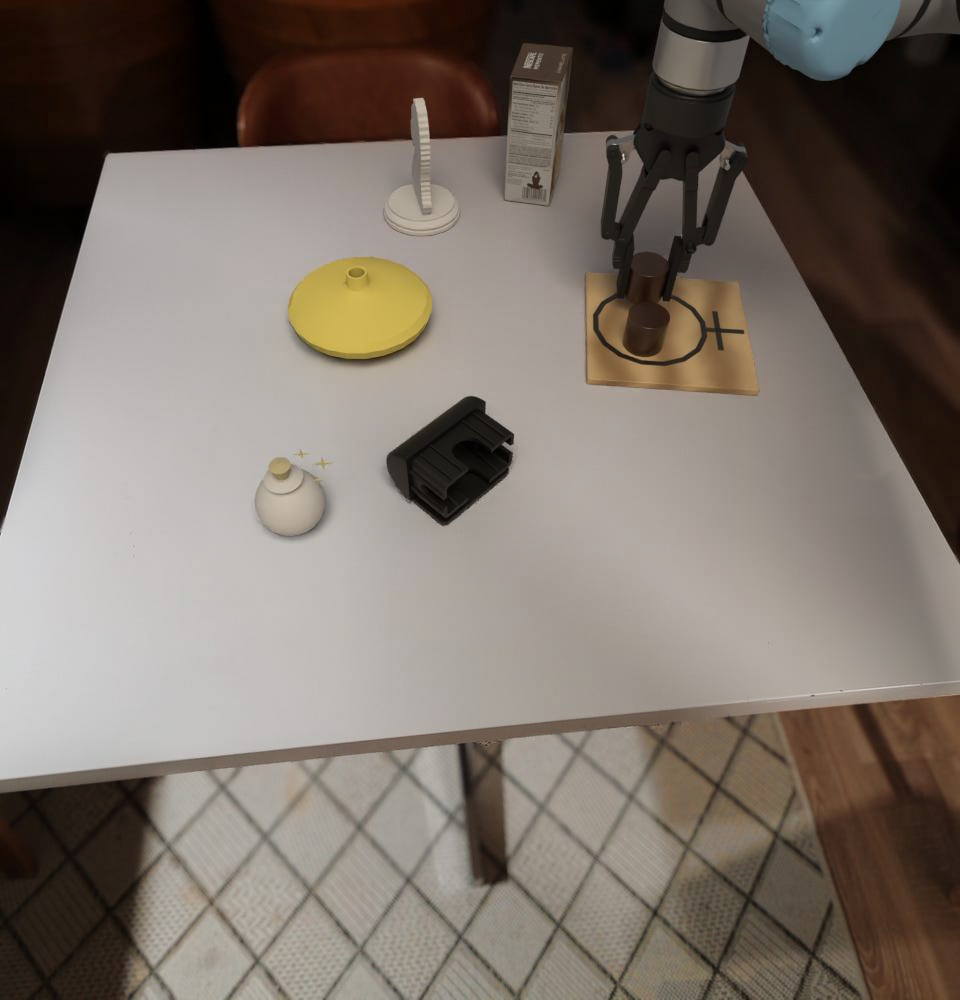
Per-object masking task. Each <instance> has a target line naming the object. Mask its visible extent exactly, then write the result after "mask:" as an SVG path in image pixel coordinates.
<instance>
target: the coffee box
mask: <svg viewBox="0 0 960 1000" xmlns="http://www.w3.org/2000/svg"><path fill="white" fill-rule="evenodd" d="M573 54H574V47H571V46H559V45H551V44H538V43H530V42H529V43H527V42H524V43H522V45H521V47H520V50H519V52H518V55H517V58H516V61H515V62H514V65H513V68H512V71H511V73H510V76H509V94H508V96H509V97H508V111H507V112H508V113H507V114H508V115H507V133H506V135H507V136H506V153H505V154H506V155H505V172H504V196H503V198H504V200H505V201H508V202H516V203H523V204H531V205H538V206H545V207H549V206H550V205H551V202H552V199H553V196H554V193H555V189H556V185H557V181H558V177H559V174H560V171H561V162H562V161H561V160H562V152H563V142H564V134H565V125H566V116H567V106H568V98H569V89H570V79H571V71H572V70H571V69H572V61H573Z"/></svg>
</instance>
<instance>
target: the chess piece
mask: <svg viewBox="0 0 960 1000" xmlns="http://www.w3.org/2000/svg"><path fill="white" fill-rule="evenodd" d="M412 102H413V103H412V104H411V106H410V107H411V108H410V110H411V112H410V113H411V114H410V115H411V119H410V120H409V122H410V136H411V139H412V140H411V141H412V146H413V147H414V149H413V150H414V151H413V155H412V161H411V181H412V183H409V184H405V185H402V186H400V187H398V188H396V189H395V190H394V191H393V192H392V193H391V194H390V195H389V196H388V197H387V198H386V200H385V202H384V206H383V218H384V220H385V222H386V224H387V225H388V226H389V227H391V228H392V229H393V230H394V231H397V232H399V233H401V234H404V235H408V236H415V237H428V236H429V237H430V236H434V235H438V234H441V233H444V232H446V231H448V230H450V229H452V227H454V226H455V225H456V224H457V223H458V221H459V219H460V216H461V208H460V204H459V201H458V199H457V198H456V197H455V196H454V195H453V194H452V193H451V191H449V190H448V189H447V188H445V187H443V186H441V185H438V184H434V183H431V160H432V159H431V140H430V139H431V138H430V125H429V118H428V117H429V116H428V110H427V106H426V101H425V99H424V97H418V98H417V97H416V98H413V99H412Z"/></svg>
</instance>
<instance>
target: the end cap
mask: <svg viewBox="0 0 960 1000" xmlns="http://www.w3.org/2000/svg"><path fill="white" fill-rule="evenodd" d="M486 408H487V402H486V400H484V399H483V398H480V397H479V396H474V395H466V396H465V397H463V398H462V399H460V400H459V401H458V402H457V403H455V404H453V405H452V406H451V407H449V408H448V409H447V410H446V411H445V410H444V412H442V413H441V414H440V415H439V416H437V417H436V418H435V419H433V420H432V421H431V422H429V423H428V424H426V425H425V426H424V427H422V428H421V429H420V430H418V431H417V432H415V433H414V434H413V435H411V436H410V437H409V438H407V439H405V440H404V441H403V442H402V443H400V445H398V446H397V447H395V448H394V449H392V450H391V451H390V452H389V453H388V454H387V455H386V458H385V459H386V460H385V463H386V468H387V472H388V475H389V476H390V478H391V480H392V482H393V483H394V485H395V487H397V489H398V490H399V491H400V493H401V494H402V495H403V496H404V497H405V498H406V499H407V500H408V501H409V502H412V503H414V504H415V505H416V506H417V507H418V508H419V509H420V510H422V511H423V512H424V513H426V514H427V515H428V516H429V517H431V519H434V521H436V522H437V523H438V524H439V525H441V526H448V525H449V524H451V523H452V522H453V521H454V520H456V519H457V518H458V517H460V516H461V515H462V514H463V513H464V512H465V511H466V510H468V509H469V508H470V507H471V506H473V505H474V504H475V503H476V502H478V501H479V500H480V499H481V498H482V497H483V496H485V495H486V494H487V493H488V492H490V491H491V490H492V489H493V488H494V487H495V486H497V485H498V484H499V483H500V482H501V481H503V480H504V479H506V478H507V476H508V475H509V473H510V469H509V468H510V467H511V464H512V463H513V454H514V453H513V452H512V451H511V450H510V449H508V448H507V447H506V446H505V445H503V444H504V443H506V444H507V445H509V446H510V447H511V446H513V445H514V441H515V433H514V432H513V431H511V430H510V429H509V428H507V427H506V426H504V425H503V424H502V423H500V422H498V421H497V420H495V419H494V418H493V417H492V416H490V415H488V414H487V412H486Z"/></svg>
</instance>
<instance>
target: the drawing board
mask: <svg viewBox="0 0 960 1000" xmlns="http://www.w3.org/2000/svg"><path fill="white" fill-rule="evenodd" d="M617 277H618V273H603V272H589V271H588V272H585V278H584V279H585V280H584V281H585V284H584V285H585V352H586V353H585V356H586V357H585V358H586V359H585V360H586V363H585V364H586V384H587V385H593V386H594V385H597V386H610V387H624V388H625V387H626V388H640V389H641V388H642V389H656V390H668V391H669V390H670V391H671V390H672V391H685V392H686V391H687V392H698V393H699V392H700V393H712V394H713V393H715V394H729V395H741V396H742V395H744V396H758V395H759V393H760V390H761V389H760V386H759V380H758V374H757V369H756V365H755V360H754V355H753V350H752V346H751V345H752V344H751V340H750V335H749V330H748V325H747V320H746V315H745V309H744V304H743V300H742V294H741V290H740V285H739V281H733V280H732V281H730V280H729V281H728V280H717V279H716V280H714V279H697V278H683V277H676V280H675V284H674V287H673V291H672V295H671V298H670V302H667V301H663V299H662V298H661V300H660V301H659V302H658V303H657V304H659V305H661V306H663V307H664V308H666V309H667V311H668V312H669V314H670V322H669V326H668V329H667V333H666V336H665V340H664V344H663V347H662V350H661V351H660V352H659V353H658V354H656V355H654V356H651V357H639V356H635V355H633V354H631V353H629V352H628V351H627V350H626V349H625V348H624V346H623V343H622V340H623V335H624V331H625V326H626V322H627V317H628V313H629V310H630V308H631V307H632V306H633V305H635V304H633V303H631V302H629V301H628V300H627V299H626V298H625V297H624V299H621V298H617V285H616V282H617Z"/></svg>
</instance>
